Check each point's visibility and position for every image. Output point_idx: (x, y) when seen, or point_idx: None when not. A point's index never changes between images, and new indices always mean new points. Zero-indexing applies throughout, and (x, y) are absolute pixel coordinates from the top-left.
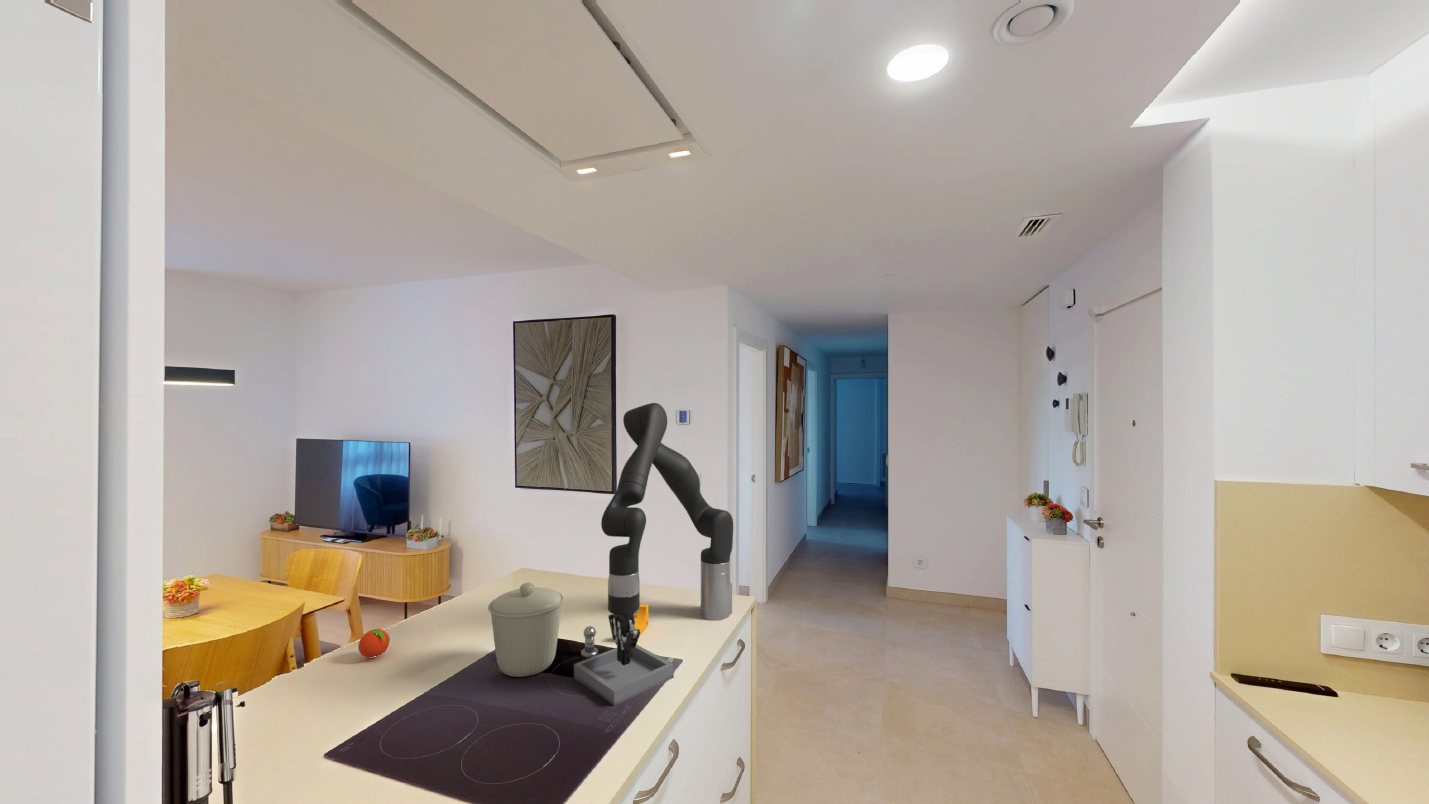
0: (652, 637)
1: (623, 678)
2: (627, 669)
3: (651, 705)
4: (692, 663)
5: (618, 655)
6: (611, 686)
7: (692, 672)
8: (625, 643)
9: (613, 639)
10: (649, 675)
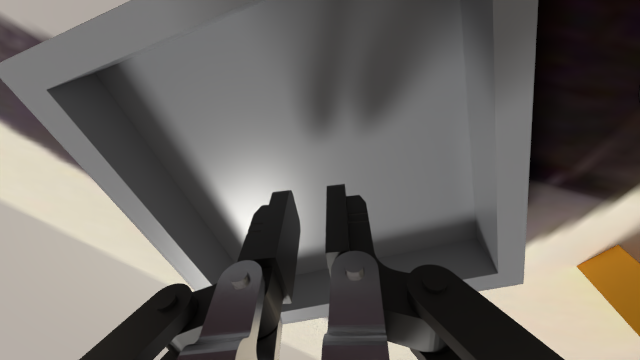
0: (559, 317)
1: (281, 157)
2: (354, 193)
3: (86, 189)
4: (316, 339)
5: (326, 207)
6: (53, 66)
7: None
8: (135, 347)
9: (427, 268)
10: (163, 256)
